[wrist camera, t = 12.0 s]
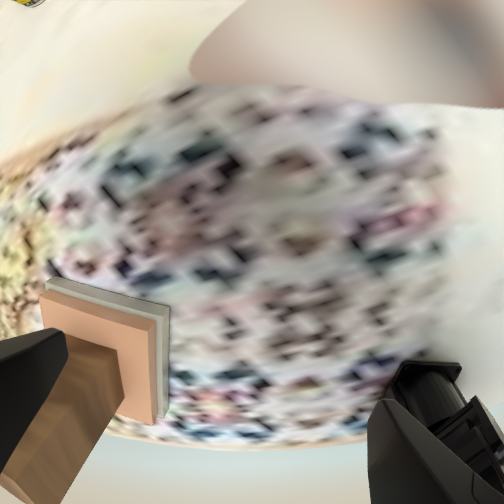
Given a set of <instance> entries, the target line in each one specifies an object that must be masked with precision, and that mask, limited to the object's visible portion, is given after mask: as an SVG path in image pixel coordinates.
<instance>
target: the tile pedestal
mask: <svg viewBox="0 0 504 504" xmlns="http://www.w3.org/2000/svg"><path fill="white" fill-rule="evenodd" d="M45 286H46V292H44V293H43V294H41V295H39V301H40V308H41V314H42V319H43V325H44V329H47V328H51V327H54V328H57V329H59V330H62V331H63V332H64V333H66V334H68V335H71V336H74V337H77V338H80V339H83V340H86V341H89V342H92V343H95V344H99V345H102V346H105V347H108V348H112V349H115V350H117V355H118V362H119V368H120V374H121V380H122V385H123V390H124V396H125V398H124V400H123V401H122V403H121V405H120V406H119V408H118V409H117V411H116V413H118V414H121V415H123V416H126V417H129V418H132V419H135V420H138V421H141V422H144V423H147V424H150V425H153V424H154V422H155V420H156V418H157V417H159V418H162V419H164V417H165V415H166V413H167V411H168V409H169V398H168V354H169V316H170V307H168V306H163V305H159V304H155V303H151V302H147V301H143V300H139V299H135V298H131V297H128V296H124V295H120V294H116V293H113V292H109V291H105V290H102V289H98V288H95V287H91V286H88V285H84V284H81V283H78V282H74V281H71V280H68V279H64V278H61V277H58V276H54V277H53V278H51V279H49V280H47V281H46V282H45Z"/></svg>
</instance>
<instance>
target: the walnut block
mask: <svg viewBox="0 0 504 504" xmlns="http://www.w3.org/2000/svg"><path fill="white" fill-rule="evenodd" d="M64 334H65V336H66V342H67V347H68V352H69V357H68V360H67V363H66V364H65V366H64V368H63V370H62V372H61V373H60V375H59V377H58V379H57V381H56V383H55V385H54V387H53V388H52V390H51V392H50V394H49V396H48V398H47V399H46V401H45V402H44V404H43V405H42V407H41V408H40V410H39V412H38V413H37V415H36V416H35V418H34V419H33V421H32V422H31V424H30V426H29V427H28V429H27V430H26V432H25V434H24V435H23V437H22V438H21V440H20V442H19V443H18V445H17V447H16V448H15V450H14V452H13V453H12V455H11V457H10V459H9V460H8V462H7V464H6V466H5V467H4V469H3V471H2V473H1V475H0V485H1V486H2V487H3V488H5V489H6V490H7V491H9V492H10V493H11V494H13V495H14V496H15V497H17V498H18V499H20V500H21V501H22V502H24V503H26V504H60V503H61V501H62V499H63V498H64V496H65V494H66V493H67V491H68V489H69V487H70V486H71V484H72V483H73V481H74V479H75V478H76V476H77V474H78V473H79V471H80V469H81V468H82V466H83V464H84V463H85V461H86V459H87V458H88V456H89V454H90V453H91V451H92V450H93V448H94V446H95V445H96V443H97V441H98V440H99V438H100V436H101V435H102V433H103V432H104V430H105V428H106V427H107V425H108V424H109V422H110V420H111V419H112V417H113V416H114V414H115V413H116V411H117V409H118V408H119V406H120V405H121V403H122V401H123V400H124V398H125V396H124V390H123V385H122V380H121V374H120V368H119V362H118V355H117V350H115V349H112V348H108V347H105V346H102V345H99V344H95V343H92V342H89V341H86V340H83V339H80V338H77V337H74V336H71V335H68V334H66V333H64Z"/></svg>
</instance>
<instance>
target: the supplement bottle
mask: <svg viewBox="0 0 504 504" xmlns="http://www.w3.org/2000/svg"><path fill="white" fill-rule="evenodd" d="M13 1H15V2H18V3H20V4H23V5H25V6H28V7H34V6H36V5H38V4H40V3H42V2H43V1H44V0H13Z"/></svg>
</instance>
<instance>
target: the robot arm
mask: <svg viewBox="0 0 504 504" xmlns="http://www.w3.org/2000/svg"><path fill="white" fill-rule="evenodd" d="M68 357H69V352H68V347H67V342H66V336H65V334H64V332H63V331H62V330H59V329H57V328H54V327H51V328H47V329H43V330H40V331H36V332H32V333H29V334H25V335H21V336H17V337H14V338H10V339H6V340H2V341H0V475H1V473H2V471H3V469H4V467H5V466H6V464H7V462H8V460H9V459H10V457H11V455H12V453H13V452H14V450H15V448H16V447H17V445H18V443H19V442H20V440H21V438H22V437H23V435H24V434H25V432H26V430H27V429H28V427H29V426H30V424H31V422H32V421H33V419H34V418H35V416H36V415H37V413H38V412H39V410H40V408H41V407H42V405H43V404H44V402H45V401H46V399H47V398H48V396H49V394H50V392H51V390H52V388H53V387H54V385H55V383H56V381H57V379H58V377H59V375H60V373H61V372H62V370H63V368H64V366H65V364H66V363H67V360H68ZM407 366H408V367H407ZM405 367H407V368H405ZM461 370H462V367H461V366H460V364H458V363H433V362H415V361H405V362H403V363H402V364H401V365H400V367H399V369H398V371H397V373H396V375H395V377H394V379H393V381H392V383H391V384H390V385H389V387H388V389H387V391H386V393H385V395H384V397H383V399H381V400H379V401H378V403H377V405H376V406H375V408H374V410H373V412H372V414H371V415H370V417H369V419H368V423H367V447H368V479H369V488H370V498H371V504H504V434H503V432H502V431H501V429H500V427H499V426H498V424H497V423H496V421H495V419H494V418H493V416H492V415H491V414H490V412H489V411H488V410H487V408H486V407H485V406H484V405H483V403H482V402H481V401H480V400H479V398H478V397H477V396H476V395H475V396H474V397H473V398H472V399H470V402H469V403H467V402H466V400H465V398H464V397H463V395H462V393H461V392H460V390H459V389H458V387H457V385H456V384H455V381H456V379H457V377H458V375H459V374H460V372H461Z"/></svg>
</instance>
